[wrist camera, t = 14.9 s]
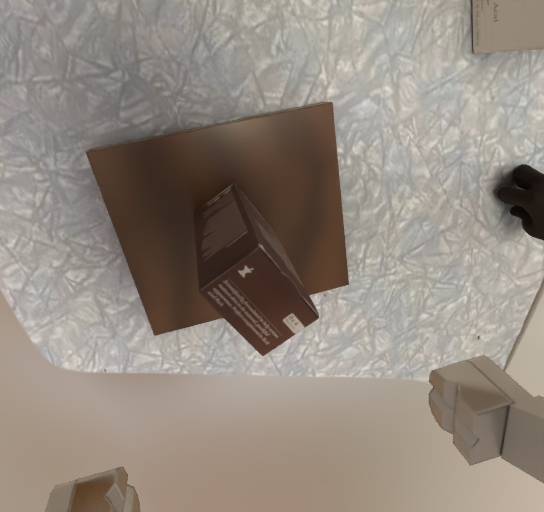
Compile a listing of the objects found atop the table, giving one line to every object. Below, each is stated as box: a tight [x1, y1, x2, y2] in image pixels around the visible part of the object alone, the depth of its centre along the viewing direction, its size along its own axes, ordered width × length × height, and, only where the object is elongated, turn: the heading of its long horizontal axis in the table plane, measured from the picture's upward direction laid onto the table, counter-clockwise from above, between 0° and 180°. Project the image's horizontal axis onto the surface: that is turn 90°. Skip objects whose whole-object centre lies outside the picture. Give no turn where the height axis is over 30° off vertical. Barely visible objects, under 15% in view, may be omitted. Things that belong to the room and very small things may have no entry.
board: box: [86, 102, 349, 335], centre depth 32 cm, size 18×16×1 cm
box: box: [193, 183, 319, 356], centre depth 26 cm, size 6×4×12 cm
